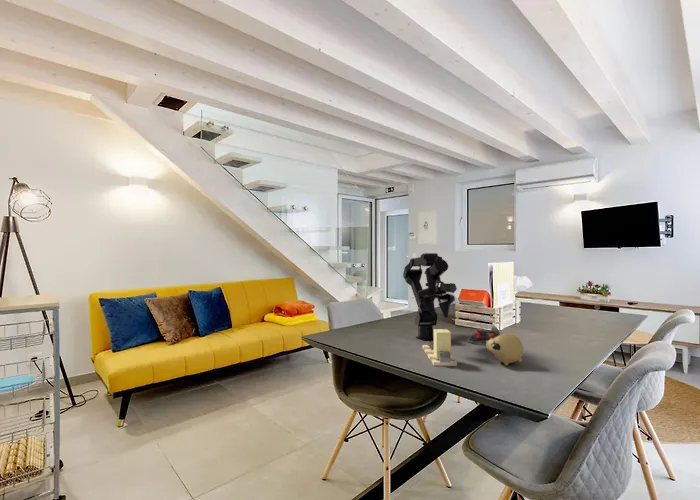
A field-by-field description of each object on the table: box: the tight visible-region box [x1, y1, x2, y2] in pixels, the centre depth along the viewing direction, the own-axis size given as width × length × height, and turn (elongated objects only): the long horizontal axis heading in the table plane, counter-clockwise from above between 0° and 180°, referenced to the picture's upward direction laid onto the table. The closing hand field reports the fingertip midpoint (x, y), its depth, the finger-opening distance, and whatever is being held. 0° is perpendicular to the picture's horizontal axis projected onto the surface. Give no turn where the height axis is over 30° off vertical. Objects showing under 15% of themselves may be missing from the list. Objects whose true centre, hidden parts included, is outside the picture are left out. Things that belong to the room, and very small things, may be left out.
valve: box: [467, 326, 501, 345], centre depth 145 cm, size 6×26×15 cm
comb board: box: [422, 340, 458, 367], centre depth 129 cm, size 22×8×4 cm, turn 178°
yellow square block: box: [433, 328, 452, 359], centre depth 123 cm, size 5×5×10 cm
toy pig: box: [485, 332, 525, 366], centre depth 121 cm, size 10×12×11 cm
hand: (440, 316), depth 139 cm, fingers open, 9 cm apart
